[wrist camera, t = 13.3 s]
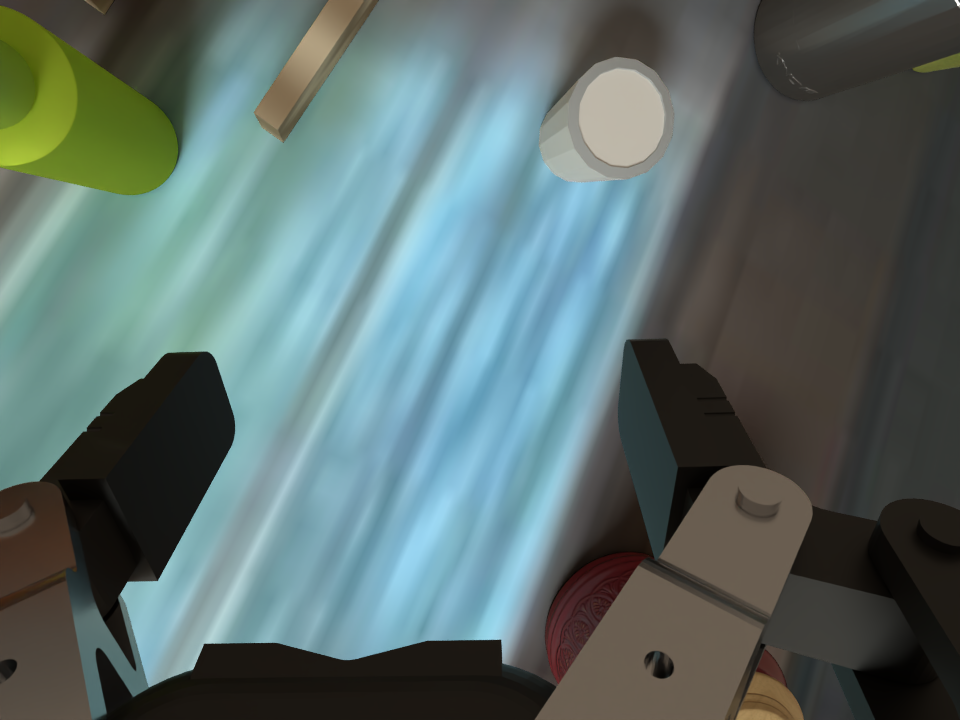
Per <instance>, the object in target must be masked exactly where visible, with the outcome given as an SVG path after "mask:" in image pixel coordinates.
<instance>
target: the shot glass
mask: <svg viewBox="0 0 960 720" xmlns="http://www.w3.org/2000/svg"><path fill="white" fill-rule="evenodd" d="M673 123H674V110H673V106H672V102H671V98H670V94H669V90H668V89H667V87H666V86H665V84H664V83H663V82H662V80H661V79H660V77H659V76H658V74H657V73H656V71H654V70H653V69H651V68H649V67H648V66H646V65H645V64H643V63H642V62H640V61H638V60H636V59H629V58H622V57H614V58H611V59H608V60H605V61H602V62H599V63H596V64H594V65H593V66H592V67H591V68H590V69H589V70H588V71H587V72H586V73H585V74H584V75H583V76H582V77H581V78H580V79H579V80H578V81H577V82H576V83H575V84H574V85H573V86H572V87H571V88H570V89H569V90H568V91H567V92H566V94H565V95H564V96H563V97H562V98H561V99H560V100H559V101H558V102H557V103H556V104H555V105H554V107H553V108H552V109H551V110H550V111H549V112H548V113H547V114H546V116H545V119H544V121H543V123H542V125H541V127H540V134H539V148H540V151H541V154H542V157H543V161H544V162H545V164H546V165H547V166H548V167H549V169H550V170H551V171H552V173H553V174H555V175H556V176H558V177H560V178H562V179H564V180H565V181H569V182H581V183H582V182H595V181H609V180H622V179H629V178H632V177H635V176H638V175H640V174H643V173H646V172H648V171H649V170H650V169H651V168H652V167H653V166H654V165H655V164H656V163H657V162H658V161H659V160H660V159H661V158H662V157H663V155H664V153H665V151H666V149H667V147H668V145H669V142H670V140H671V138H672V134H673Z"/></svg>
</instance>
